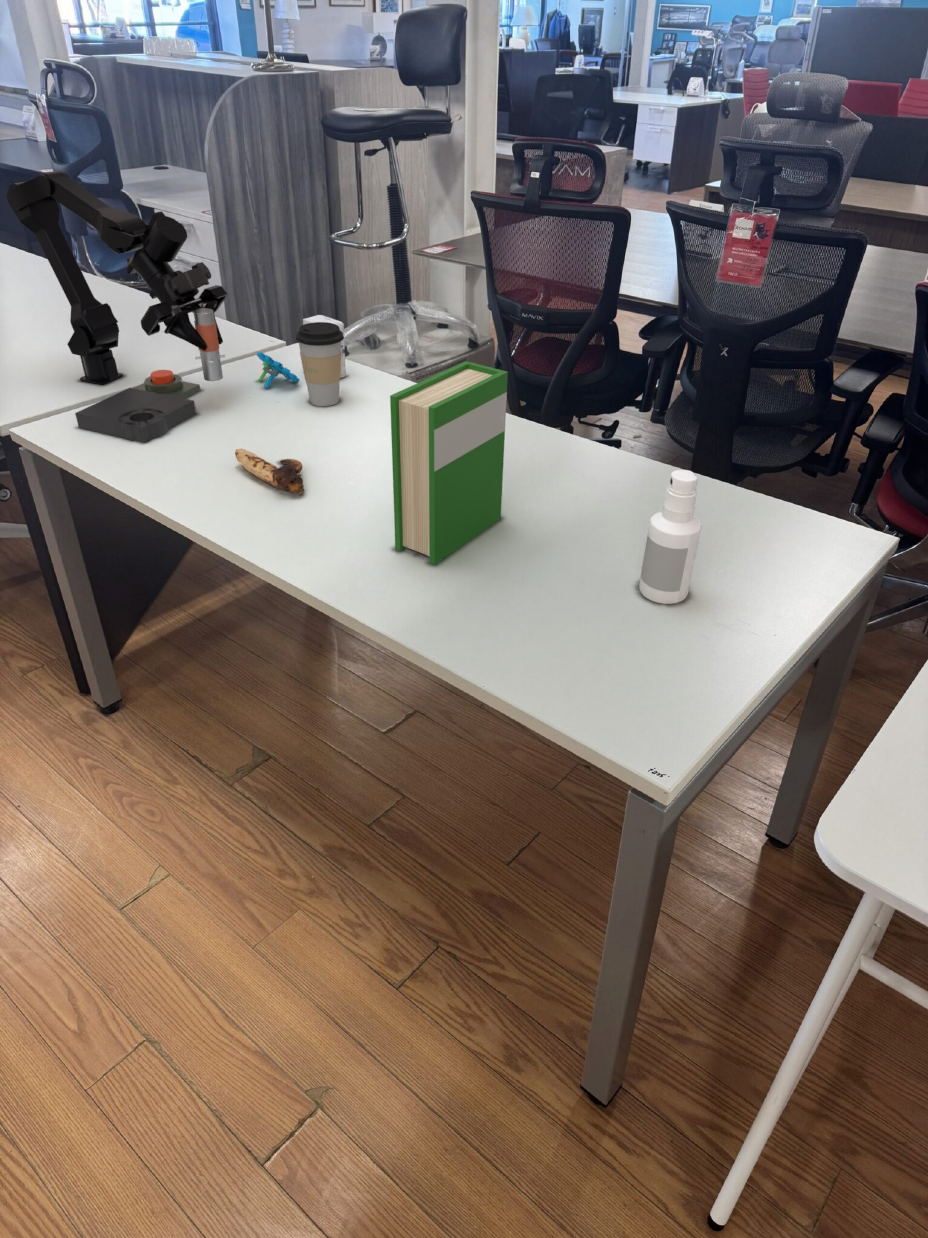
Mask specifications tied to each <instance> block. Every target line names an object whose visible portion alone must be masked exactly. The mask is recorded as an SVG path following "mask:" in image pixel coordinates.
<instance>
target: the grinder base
mask: <svg viewBox="0 0 928 1238" xmlns="http://www.w3.org/2000/svg"><path fill="white" fill-rule="evenodd" d="M195 404H196V403H195V400H194V399H188V398H185V399H184V398H179V397H174V396H169V395H164V394H159V393H154V392H149V391H144V390H139V389H134V387H128V388H126V389H124V390H122V391H119V392H118V393H115V394H113V395H111V396H109V397H107V398H104V399H102V400H101V401H98V402H96V403H94V404H91V405H89V406H87V407H85V408H83V409H80V410H78V411H76V412H75V414H74V415H75V418H76V422H77V426H78V429H83V430H87V431H92V432H95V433H100V434H105V435H109V436H114V437H118V438H123V439H124V440H129V441H133V442H139V443H147V442H149V441H151V440H155V439H159V438H161V437H163V436H164V435H166V434H167V432H169V431H170V430H171V429H173V428H174V427H176V426H178V425H180V424H182V423H184V422H186V421H188V420H189V419H192V418H193V417H195V416H197V411H196V410H197V409H196V405H195Z"/></svg>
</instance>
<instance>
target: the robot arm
mask: <svg viewBox="0 0 928 1238" xmlns="http://www.w3.org/2000/svg"><path fill="white" fill-rule="evenodd" d="M6 201H7V204H8V205H9V207H10V208H11V210H12V212H13V213H14V215H15V217H16V218H17V220H18V221H19V222H20V223H21V224H22V225H23V226H24V227H26V228H27V229H28V230H29V231H30V232H31V233H33V234H34V235H35V237H36V239H37V241H38V243H39V245H40V248H41V249H42V252H43V253H44V256H45V257H46V259H47V261H48V263H49V265H50V267H51V269H52V271H53V273H54V275H55V277H56V280H57V281H58V283H59V286H60V287H61V289H62V291H63V293H64V295H65V297H66V299H67V301H68V304H69V306H70V319H69V323H70V325H71V327H72V329H73V333H72V335H71V337H70V338H69V340H68V341H67V346H68V348H69V350H70V352H71V354H72V355H75V356H79V358H80V361H81V365H82V370H83V374H84V376H81V377H80V378H79V380H80V381H81V382H86V383H91V384H96V385H100V386H103V385H106V384H108V383H110V382H113V381H115V380H117V379H120V378H122V377H124V373H121V372H119V371H118V367H117V362H116V358H115V357H114V354H113V350H112V349H114V348H117V347H119V335H120V334H119V333H120V327H119V325H118V323H119V321H118V319H117V318H116V317H115V315H114V313H113V310H112V307H111V305H109V303H108V302H105V303H101V301H99V300H98V299H97V298H95V296H94V294H93V292H92V289H91V287H90V286H89V284H88V281H87V280H86V278H85V276H84V273H83V271H82V269H81V267H80V265H79V263H78V261H77V259H76V257H75V255H74V253H73V251H72V249H71V247H70V244H69V243H68V241H67V239H66V237H65V234H64V232H63V230H62V228H61V226H60V219H61V218H60V217H61V209H60V205H59V204H61V206H63V207H65V208H66V209H67V210H69V211H70V212H71V213H73V214H75V215H76V216H77V217H79V218H80V219H81V220H83V221H84V222H86V223H87V224H89V225H90V226H92V227H93V228H94V229H95V230H96V231H97V233H98V236H99V239H100V241H102V242H103V244H105V245H106V246H107V247H108V248H109V249H110V250H111V251H112V252H114V253H115V254H117V255H121V254H126V253H130V252H134V251H135V252H134V254H133V255H132V257H128V258H127V257H126V263H127V264H126V273H127V274H128V275H132V274H135V273H137V274H138V275H139V276H140V278H141V279H142V280H143V282H144V284H145V285H146V286H147V287H148V288H149V289H150V293H148V294H149V297H150V298H151V299H152V300H154V299H157V300H158V301H159V303H156V304H153V305H149V306H148V308H147V310H146V312H145V313H144V315H143V316H142V317H141V319H140V325H141V329H142V330H143V331H144V333H145V334H146V335H147V336H153V335H154V334H158V333H159V332H160V331H161V325H160V324H161V323H163V324H164V326H165V327H166V328H165V329H164V331H163V333H164V334H166V335H168V334H170V335H171V336H174V337H176V338H178V339H180V340H183V341H184V342H187V343H189V344H191V345H192V346H194V347H196V348H198V349H199V348H200V349H202V350H204V351H205V350H206V349H207V348H208V347H207V345H206V343H205V342H204V340H203V339H202V337H201V336H200V335H199V333H198V332H197V330H196V329H195V325H193V323H194V324H195V320H194V321H193V323H191V320H190V316H189V314H190V313H193V315H194V312H193V311H194V310H196V309H201V308H208V309H212V310H213V313H214V320H215V322H216V328H217V335H218V342H219V346H220V345H222V344H223V342H224V340H223V337H222V334H221V332H220V328H219V325H218V323H217V319H216V316H215V315H216V314H215V313H216V312H217V311H218V310H219V308H220V307H221V306H222V305H223V303H224V301H225V300H226V299H227V297H228V296H229V294H228V293H227V292H226V290H225V288H224V287H223V286H222V285H218V284H215V285H211V286H210V287H206V288H204V289H203V290H202V292H201V293H200V295H199V297H197V298H195V296H197V295H198V294H199V292H200V290H199V288H201V287H204V286H208V285H210V282H209V280H210V279H212V273H211V270H210V269H209V268H208V266H207V265H206V264H205V263H204V262H203V261H201V262H198V263H197V262H196V263H195V264H194V265H192V266H191V269H189V270H186V271H182V270H174V269H173V267H172V266H171V264H170V263H171V262H173V261H174V260H175V259H176V257H177V256H178V254H179V252H180V250H181V249H182V247H183V246H184V244H185V243H186V241H187V239H188V231H187V230H186V228H185V225H183V224H182V223H181V222H179V221H178V220H176V219H175V218H173V217H170V216H167V215H165V213H164V212H163V211H161V210H160V211H156V212H153V213H152V214H151V216H150V220H149V222H148V223H147V222H145V221H144V220H143V219H142V218H141V217H140V216H138V215H136V214H133V213H131V212H129V211H127V210H123V209H117V208H113V207H111V206H110V205H108V204H107V203H106V202H104V201H102V200H101V199H100V198H98V197H97V196H96V195H94V194H92V193H91V192H90V191H88V190H87V189H85V188H84V187H83V186H81V185H80V184H78V183H77V182H75V181H74V180H73V179H71V178H70V176H69V175H68V174H67V173H66V172H65V171H61V170H54V171H48V172H41V173H40V174H39V175H38V176H36V177H33V178H32V179H29V180H27V181H21V182H15V183H11V184H9V186H8V188H7V192H6Z"/></svg>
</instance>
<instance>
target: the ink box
mask: <svg viewBox="0 0 928 1238" xmlns="http://www.w3.org/2000/svg"><path fill="white" fill-rule="evenodd" d="M314 322H327V323H333V324H336V325H338V326H339V329H340V331H342V333H343V336H344V337H345V323H343V321H340V320H338V319H335V318H332V317H329V316H326V315H323V314H317V315H314V316H309V317H306V318H302V325H304V324H308V323H314ZM345 344H346V343H345V338H344V339H343V340H342V341H341V377H340V379H343V378H345V377H346V376H347V374H346V373H347V371H346V369H347V368H346V348H345V347H346V345H345Z"/></svg>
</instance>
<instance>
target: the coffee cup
mask: <svg viewBox="0 0 928 1238" xmlns="http://www.w3.org/2000/svg"><path fill="white" fill-rule="evenodd" d="M295 336H296V337H295V341H297V343H298V347H299V356H300V360H301V361H300V362H301V366H302V371H303V375H304V377H303V378H304V380H305V382H306V387H307V392H308V397H309V402H310V403H311V405H313V406H317V407H330V406H334V405H337V404H338V403H339V401H340V381H341V378H340V377H341V341H342V340H343V339H344V340H345V335H344V336H343V333H342V331H340V329H339V326H338V325H336V324H333V323H327V322H314V323H308V324H304V325H303V324H302V325H300V326H299V327H298V332H296V334H295Z"/></svg>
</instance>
